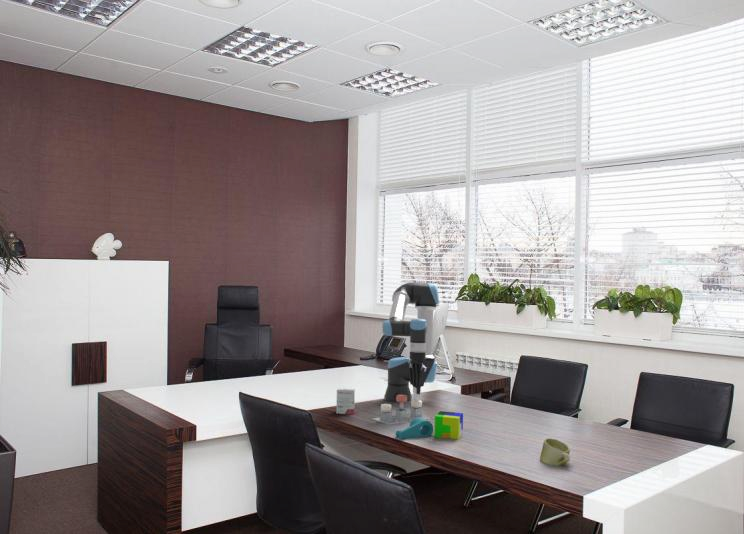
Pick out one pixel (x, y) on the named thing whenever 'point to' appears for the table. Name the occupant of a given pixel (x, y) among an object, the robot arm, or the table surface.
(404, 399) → the knob mid
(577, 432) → the table surface
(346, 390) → the ink box
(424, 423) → the tape dispenser
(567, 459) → the mug
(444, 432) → the puzzle toy
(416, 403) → the knob inner
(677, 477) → the table surface
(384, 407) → the knob outer
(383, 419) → the console
